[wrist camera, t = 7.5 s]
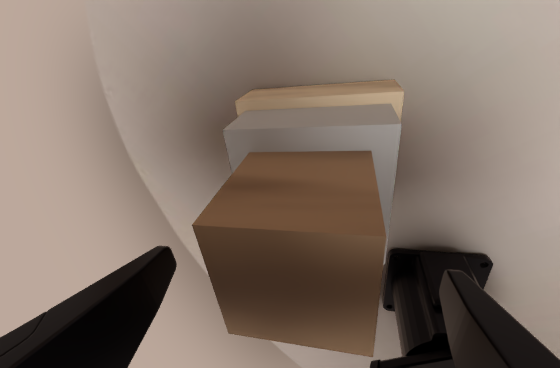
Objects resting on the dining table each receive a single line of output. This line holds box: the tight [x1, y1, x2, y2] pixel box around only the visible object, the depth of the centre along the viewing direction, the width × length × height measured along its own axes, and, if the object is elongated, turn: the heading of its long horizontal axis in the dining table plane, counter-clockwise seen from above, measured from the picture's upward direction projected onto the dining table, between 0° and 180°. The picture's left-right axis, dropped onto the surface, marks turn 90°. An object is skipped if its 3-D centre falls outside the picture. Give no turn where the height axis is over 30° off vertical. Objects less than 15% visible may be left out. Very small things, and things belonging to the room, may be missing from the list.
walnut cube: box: [192, 151, 386, 357], centre depth 10 cm, size 5×5×5 cm
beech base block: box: [235, 80, 404, 121], centre depth 16 cm, size 8×8×3 cm
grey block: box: [223, 103, 402, 265], centre depth 13 cm, size 7×7×3 cm
